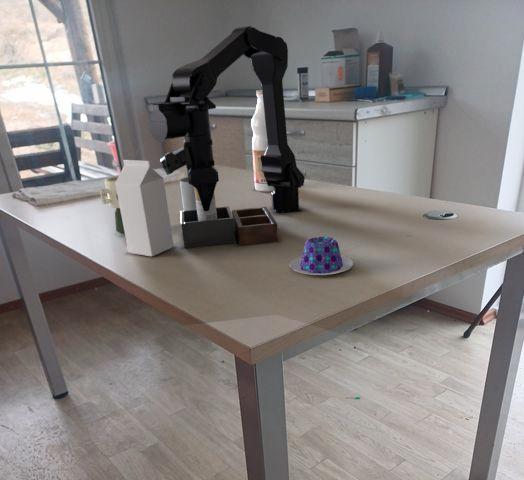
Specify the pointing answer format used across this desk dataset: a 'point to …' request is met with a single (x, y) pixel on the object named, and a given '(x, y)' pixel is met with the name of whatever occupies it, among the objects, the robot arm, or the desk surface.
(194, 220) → the dark grey open box
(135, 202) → the milk carton
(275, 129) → the robot arm
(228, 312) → the desk surface
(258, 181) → the fruit juice
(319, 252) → the purple bucket hat
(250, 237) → the rack
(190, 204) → the cup
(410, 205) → the desk surface
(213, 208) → the sprinkles bottle
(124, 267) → the desk surface
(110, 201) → the character mug
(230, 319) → the desk surface
